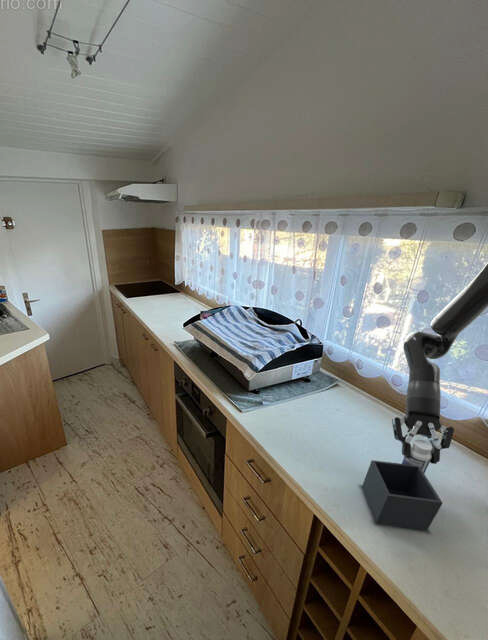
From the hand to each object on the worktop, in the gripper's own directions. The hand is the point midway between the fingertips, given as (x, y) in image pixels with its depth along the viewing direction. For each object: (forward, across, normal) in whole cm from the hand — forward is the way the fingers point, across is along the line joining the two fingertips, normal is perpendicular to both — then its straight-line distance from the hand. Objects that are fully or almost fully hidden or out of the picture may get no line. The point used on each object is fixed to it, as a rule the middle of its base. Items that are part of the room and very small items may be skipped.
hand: (420, 460), depth 81 cm
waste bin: (+13, -6, -2) cm, 15 cm away
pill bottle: (+3, 0, +5) cm, 6 cm away
